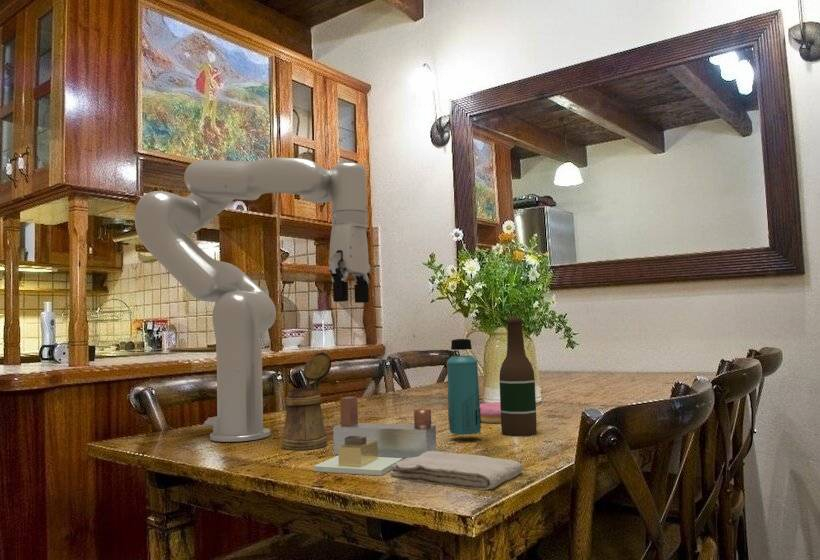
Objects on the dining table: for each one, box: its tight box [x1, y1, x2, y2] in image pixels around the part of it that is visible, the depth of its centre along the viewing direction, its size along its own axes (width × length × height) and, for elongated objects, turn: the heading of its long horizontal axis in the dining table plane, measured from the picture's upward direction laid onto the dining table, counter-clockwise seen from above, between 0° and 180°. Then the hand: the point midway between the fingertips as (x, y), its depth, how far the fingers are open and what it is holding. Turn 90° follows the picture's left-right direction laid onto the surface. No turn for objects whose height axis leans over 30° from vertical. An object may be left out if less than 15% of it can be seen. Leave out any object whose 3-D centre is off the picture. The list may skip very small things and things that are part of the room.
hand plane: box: [332, 396, 437, 459], centre depth 114 cm, size 18×5×10 cm, turn 68°
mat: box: [312, 455, 404, 476], centre depth 104 cm, size 12×9×1 cm
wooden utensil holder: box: [281, 351, 333, 451], centre depth 127 cm, size 9×14×18 cm, turn 162°
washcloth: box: [389, 450, 523, 491], centre depth 97 cm, size 12×18×3 cm, turn 57°
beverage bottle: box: [446, 338, 482, 435], centre depth 127 cm, size 6×7×20 cm
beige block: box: [337, 436, 378, 467], centre depth 104 cm, size 4×6×4 cm, turn 159°
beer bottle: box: [499, 316, 538, 437], centre depth 132 cm, size 8×8×24 cm
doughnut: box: [479, 401, 501, 424], centre depth 149 cm, size 11×11×4 cm
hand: (351, 301), depth 133 cm, fingers open, 9 cm apart
